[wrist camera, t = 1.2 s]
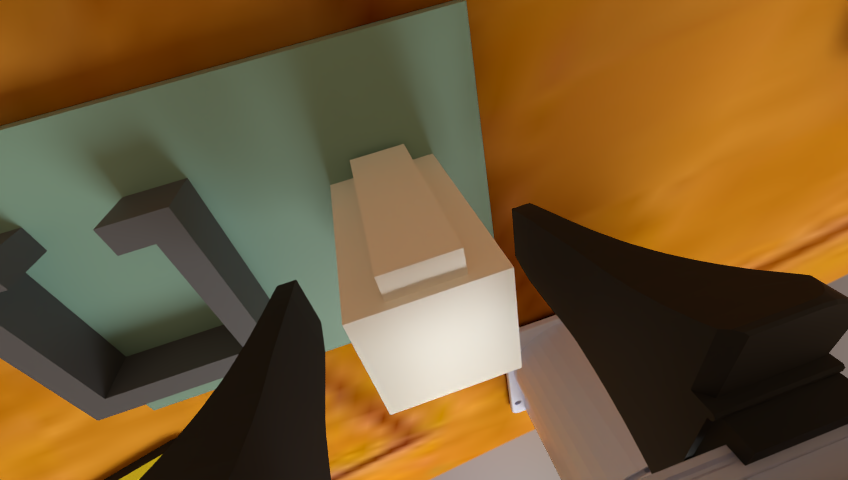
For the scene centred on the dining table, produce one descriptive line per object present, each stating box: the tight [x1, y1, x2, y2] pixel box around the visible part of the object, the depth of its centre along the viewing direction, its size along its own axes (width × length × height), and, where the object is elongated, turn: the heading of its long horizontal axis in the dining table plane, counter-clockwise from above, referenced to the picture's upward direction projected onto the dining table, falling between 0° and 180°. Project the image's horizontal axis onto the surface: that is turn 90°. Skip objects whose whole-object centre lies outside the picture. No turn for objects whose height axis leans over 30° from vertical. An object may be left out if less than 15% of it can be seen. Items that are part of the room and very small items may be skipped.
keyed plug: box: [330, 144, 522, 415], centre depth 12 cm, size 5×4×7 cm
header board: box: [0, 0, 494, 420], centre depth 14 cm, size 13×18×3 cm
